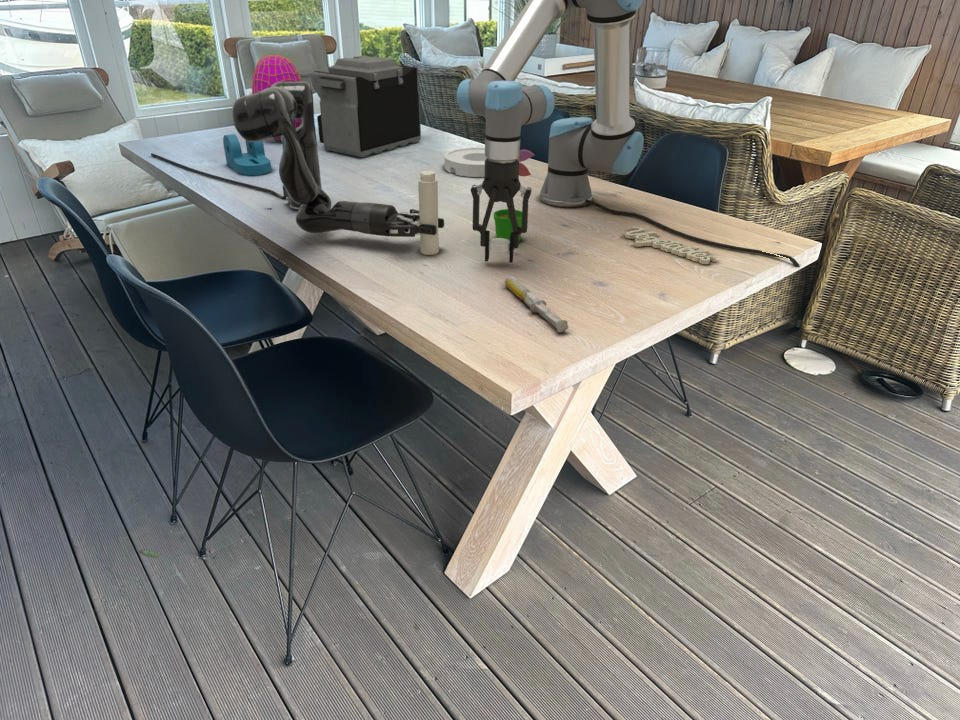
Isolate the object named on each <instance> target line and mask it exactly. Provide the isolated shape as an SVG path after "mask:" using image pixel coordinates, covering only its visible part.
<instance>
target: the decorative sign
mask: <svg viewBox="0 0 960 720" xmlns="http://www.w3.org/2000/svg"><path fill="white" fill-rule="evenodd" d="M624 238H626V239H629V240H630V239H631V240H634V247H636V248H639V247H653V248H655V249H660V250H661V251H663V252H667V253H671V254H673V255H677V256H679V257H685V259H687V260H691V261H693V262H696V263H697V262H698V263H700V264H702V265H709V264H710V261H711V262H712V263H715V262H716V258H717V257H716V256H715V255H711V254H710V250H709V249H700V247H699V246H697V245H696V246H686V247H685V246H684V245H683V243H682V242H681V241H677V240H676V241H675V240H673V239H667V240H666V239H662V238H658V237H657V232H656V231H645V228H643V227H639V226H631V229H630V231H625V234H624ZM709 254H710V255H709Z"/></svg>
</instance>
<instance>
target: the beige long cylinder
mask: <svg viewBox="0 0 960 720" xmlns="http://www.w3.org/2000/svg"><path fill="white" fill-rule="evenodd" d="M419 176H420V177H419V178H418V179H417V185H418V186H417V188H418V210H419V220H420V225H421V224H428V225H435V226H436V227H437V233H436V234H435V235H429V234H420V235H419V247H420V253H421V254H422V255H425V256H435V255H437V254H438V253H439V252H440V241H439V240H440V238H439V236H440V235H439V228H438V218H439V191H438V189H439V188H438V187H439V185H438V184H439V183H438V178H436V172H435V171H434V170H421V171H420V172H419Z"/></svg>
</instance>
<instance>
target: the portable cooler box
mask: <svg viewBox="0 0 960 720" xmlns="http://www.w3.org/2000/svg"><path fill="white" fill-rule="evenodd" d="M310 79H311V87H313V90H314V91H315V93H316V94H317V96H318V98H319V110H320V111H319V112H320V114H319V115H317V116H316V119H317V128H318V138H319V143H320V144H323V146H324V149H325V150H327V151H330V152H335V153H340V154H344V155H348V156H353V157H357V158H362V159H363V158H366V157H367V158H368V157H369V155H371V154H375V155H377V154H381V153H382V152H383V151H391V150H395V149H396V148H397V147H405V146H407V145H408V144H416V143H418V142H419V141H421V137H422V128H421V97H420V92H419V91H420V89H419V68H418V67H417V66H408V65H400V64H396V62H395V60H394V59H393V58H385V57H377V56H367V55H356V56H353V57H350V58H349V57H343V58H342V57H341V58H337V59H336V60H335V63H334V64H333V65H330V66H329V67H328V72H327V71H320V70H314V71H313V70H312V71H310Z"/></svg>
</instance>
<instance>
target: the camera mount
mask: <svg viewBox="0 0 960 720" xmlns="http://www.w3.org/2000/svg"><path fill="white" fill-rule="evenodd" d="M222 140H223V141H222V143H223V149H224V150H223V151H224V156H225V161H226V165H227V166H228V167H230V168H231V169H232V170H234V171H236V172H237V173H238V174H239V175H244V176H260V175H265V174H268V173H271V172H272V164H271V159H270V158H268V157H267V156H266V153H265V145H264V140H263V141H258V142H249V141H247V140H245V146H246V152H243V151H242V150H243V149H242V146H241V142H240V140H239V138H238V135H236V134H235V133H231V134H224V135H223V138H222Z"/></svg>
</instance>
